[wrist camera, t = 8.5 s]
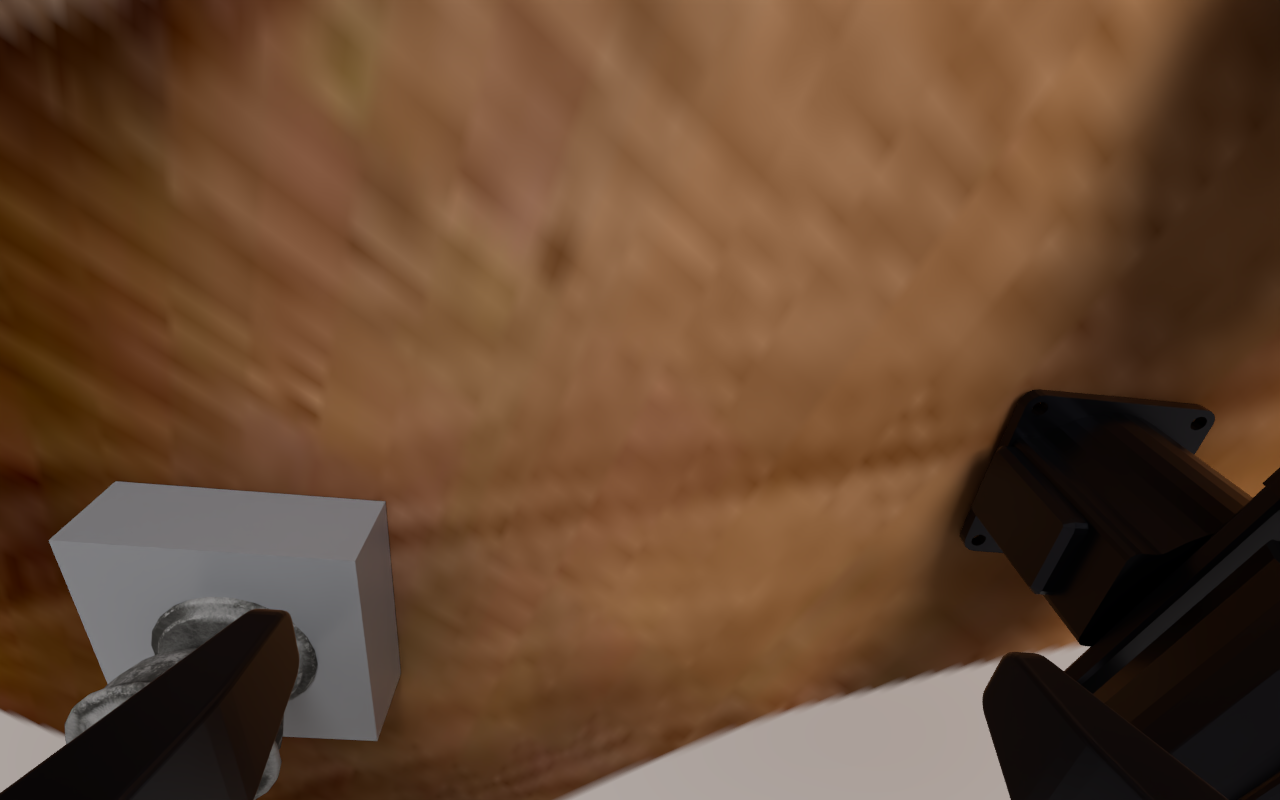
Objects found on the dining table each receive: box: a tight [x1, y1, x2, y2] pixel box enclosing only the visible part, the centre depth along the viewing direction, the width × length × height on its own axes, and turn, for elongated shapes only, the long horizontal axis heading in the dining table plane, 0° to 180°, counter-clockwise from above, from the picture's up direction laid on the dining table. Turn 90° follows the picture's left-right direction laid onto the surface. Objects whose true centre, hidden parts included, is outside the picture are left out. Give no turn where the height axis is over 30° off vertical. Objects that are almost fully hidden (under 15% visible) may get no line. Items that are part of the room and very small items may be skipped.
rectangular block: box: [49, 481, 401, 741], centre depth 24 cm, size 9×9×3 cm
